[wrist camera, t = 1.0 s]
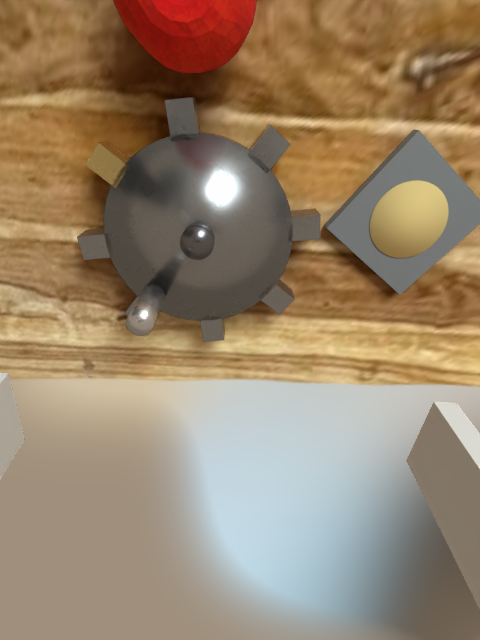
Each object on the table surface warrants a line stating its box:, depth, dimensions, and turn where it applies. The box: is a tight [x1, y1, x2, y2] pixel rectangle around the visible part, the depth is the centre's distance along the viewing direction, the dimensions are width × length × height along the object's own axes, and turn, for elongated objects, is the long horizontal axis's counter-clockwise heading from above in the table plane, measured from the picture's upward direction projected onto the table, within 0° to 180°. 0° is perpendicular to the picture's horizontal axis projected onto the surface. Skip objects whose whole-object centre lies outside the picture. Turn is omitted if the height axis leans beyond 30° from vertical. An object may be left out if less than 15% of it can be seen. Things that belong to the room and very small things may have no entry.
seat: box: [325, 130, 480, 295], centre depth 30 cm, size 9×9×1 cm
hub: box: [180, 223, 215, 260], centre depth 29 cm, size 6×6×4 cm
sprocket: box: [77, 97, 320, 342], centre depth 27 cm, size 18×18×7 cm
